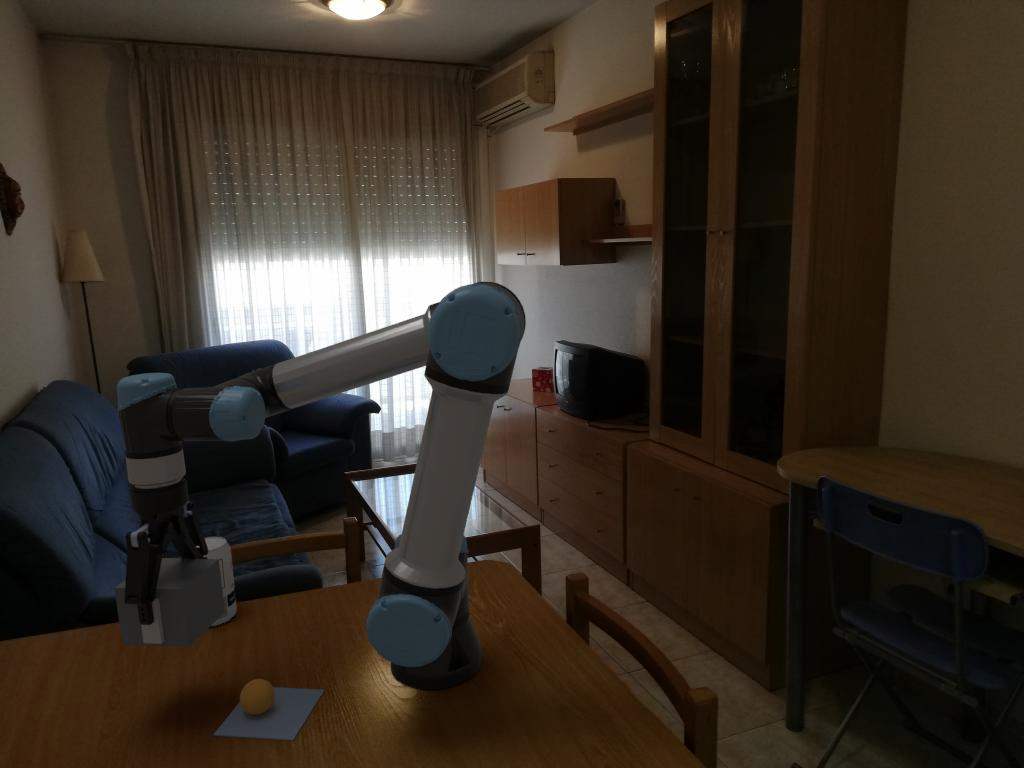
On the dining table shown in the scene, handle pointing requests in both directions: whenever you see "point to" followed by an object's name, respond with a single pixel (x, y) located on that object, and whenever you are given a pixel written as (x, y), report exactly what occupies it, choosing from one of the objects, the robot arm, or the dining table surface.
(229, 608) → the supplement can
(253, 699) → the ball
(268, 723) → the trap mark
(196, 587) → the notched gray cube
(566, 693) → the dining table surface
